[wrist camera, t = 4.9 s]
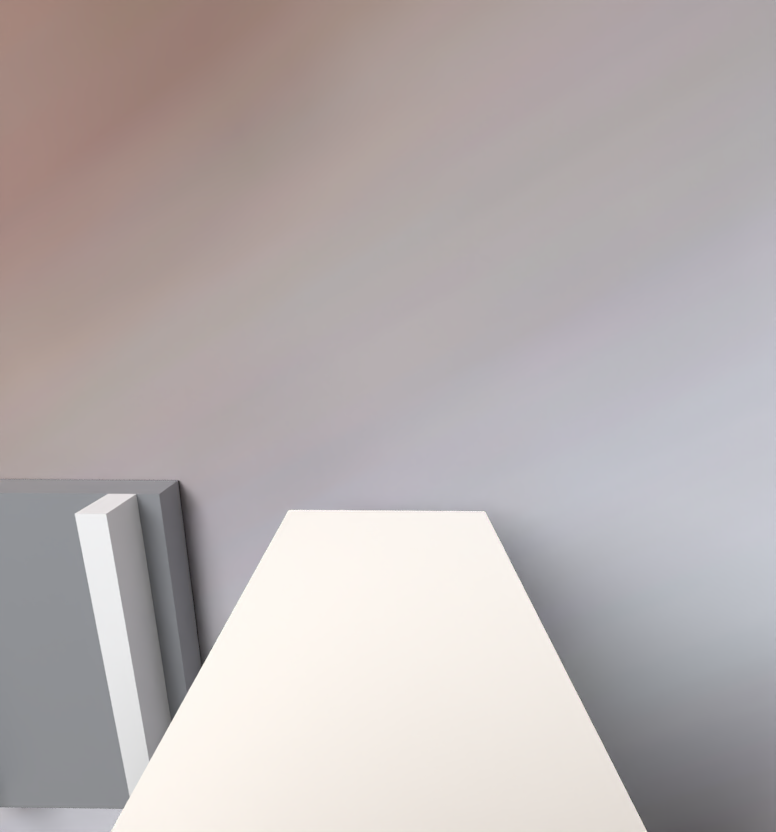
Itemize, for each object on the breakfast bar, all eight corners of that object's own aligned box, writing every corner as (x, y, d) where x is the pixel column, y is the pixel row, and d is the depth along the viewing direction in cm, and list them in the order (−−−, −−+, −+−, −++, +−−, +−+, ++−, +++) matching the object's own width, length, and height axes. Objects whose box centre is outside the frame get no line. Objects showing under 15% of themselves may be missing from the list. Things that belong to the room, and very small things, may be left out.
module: (484, 511, 9) (790, 1113, 2) (469, 749, 10) (614, 1532, 4) (288, 509, 9) (-42, 1103, 2) (302, 747, 11) (140, 1521, 4)
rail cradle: (177, 480, 12) (131, 514, 10) (215, 777, 15) (185, 854, 13) (-112, 478, 12) (-221, 511, 10) (-21, 774, 15) (-92, 851, 13)
